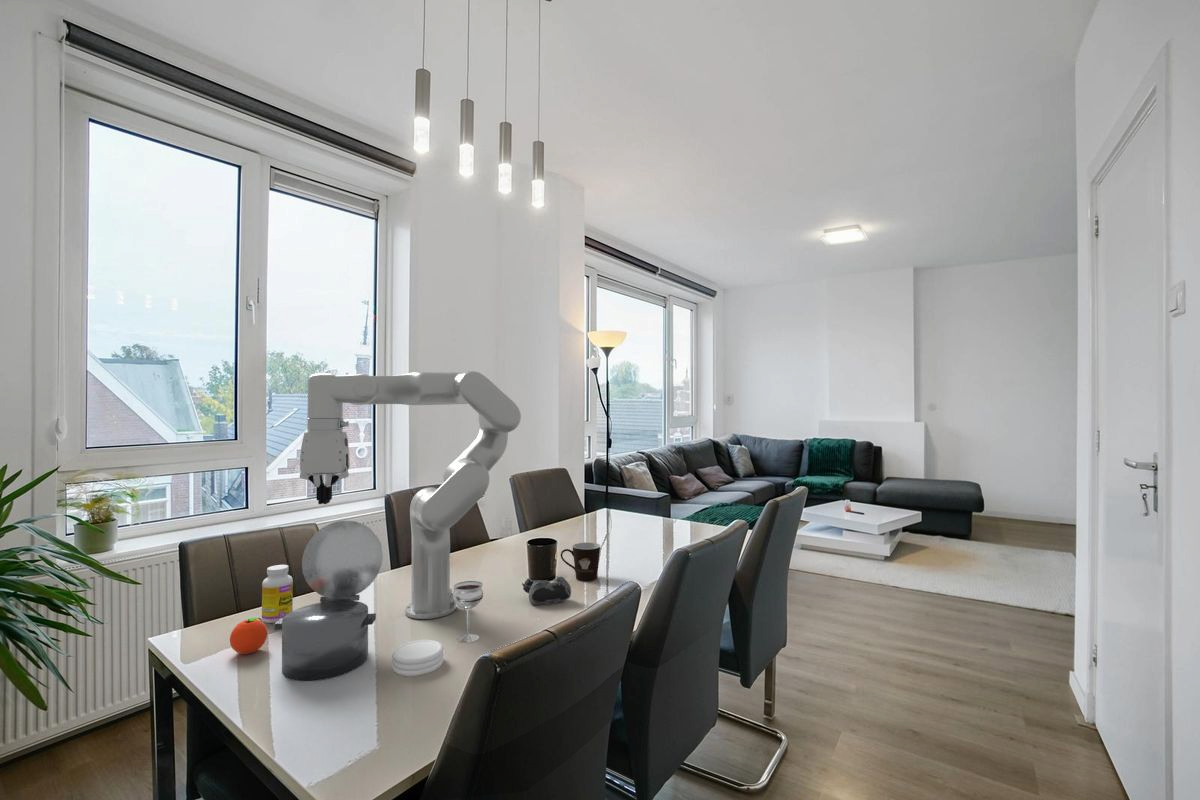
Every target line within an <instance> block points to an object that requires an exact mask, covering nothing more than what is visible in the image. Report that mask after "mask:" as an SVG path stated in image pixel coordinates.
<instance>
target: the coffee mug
mask: <svg viewBox="0 0 1200 800" xmlns="http://www.w3.org/2000/svg"><path fill="white" fill-rule="evenodd" d="M571 547H572V550H571V549H569V548H564V549H563V550H562V551H561V552H560V558H561V560H562V561H563V562H564V564H565V565H568V566H569V567H570V568H572V570H574V572H575V579H576V580H577V581H578V582H585V583H586V582H587V583H589V582H594V581H596V580H597V579H598V571H599V570H598V569H599V563H600V554H601V544H600V543H597V542H591V541H590V542H584V541H583V542H577V543H574V544H573V545H572V546H571ZM565 552H569V553H570V554H571V556H572V557H573V563H574V565H572V564H571V563H569V562H568V561H566V559H565V558H564V557H563V553H565Z"/></svg>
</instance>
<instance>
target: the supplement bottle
mask: <svg viewBox="0 0 1200 800" xmlns="http://www.w3.org/2000/svg"><path fill="white" fill-rule="evenodd" d="M289 567H290V566H289V565H288V564H277V565H276V564H275V565H271V566H269V567H267V569H266V575H267V577H266V578H264V579H263V581H262V583H261V591H262V592H261V620H262V622H263V623H265V624H266V623H267V624H275V623H276V622H277V621H278V620H280V619H281V618H284V616H286V615H287V614H288V613H290V612H292V611H293V604H294V603H293V598H294V597H293V596H294V595H293V593H294V592H293V591H294V589H293V587H294V580H293V577H292V575H289V574H288V572H289Z"/></svg>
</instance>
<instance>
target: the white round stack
mask: <svg viewBox="0 0 1200 800" xmlns="http://www.w3.org/2000/svg"><path fill="white" fill-rule="evenodd" d="M391 657H392V659H391V662H392V664H391V668H392V670H393V673H395V674H397V675H399V676H403V677H417V676H418V677H419V676H423V675H427V674H429V673H430V674H431V673H433V672H435V671H437V670H438V669H440V667H441V666H442V665H443V663H444V645H443V643H441V642H439V641H437V640H433V639H416V640H413V641H409V642H405V643H403V644H401V645H399V646H398V647H395V649H394V650H393V651H392V654H391Z"/></svg>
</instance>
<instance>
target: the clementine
mask: <svg viewBox="0 0 1200 800" xmlns="http://www.w3.org/2000/svg"><path fill="white" fill-rule="evenodd" d="M267 638H268V628H267V626H266V623H265V622H263V621H262V617H261V618H260V617H251V618H248V619H245V620H243V621H241V622H239V623H238V624H236V626H235V627H234V628H233V629H232V631H231V633H230V636H229V644H230V646H231V647H230V648H231V649H232V650H234V651H235V652H236V653H238V654H240V655H241V654H242V655H246V654H251V653H254V652H256V651H258V650H259V649H261V648H262V647H263V645H264V644H265V642H266V640H267Z"/></svg>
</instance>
